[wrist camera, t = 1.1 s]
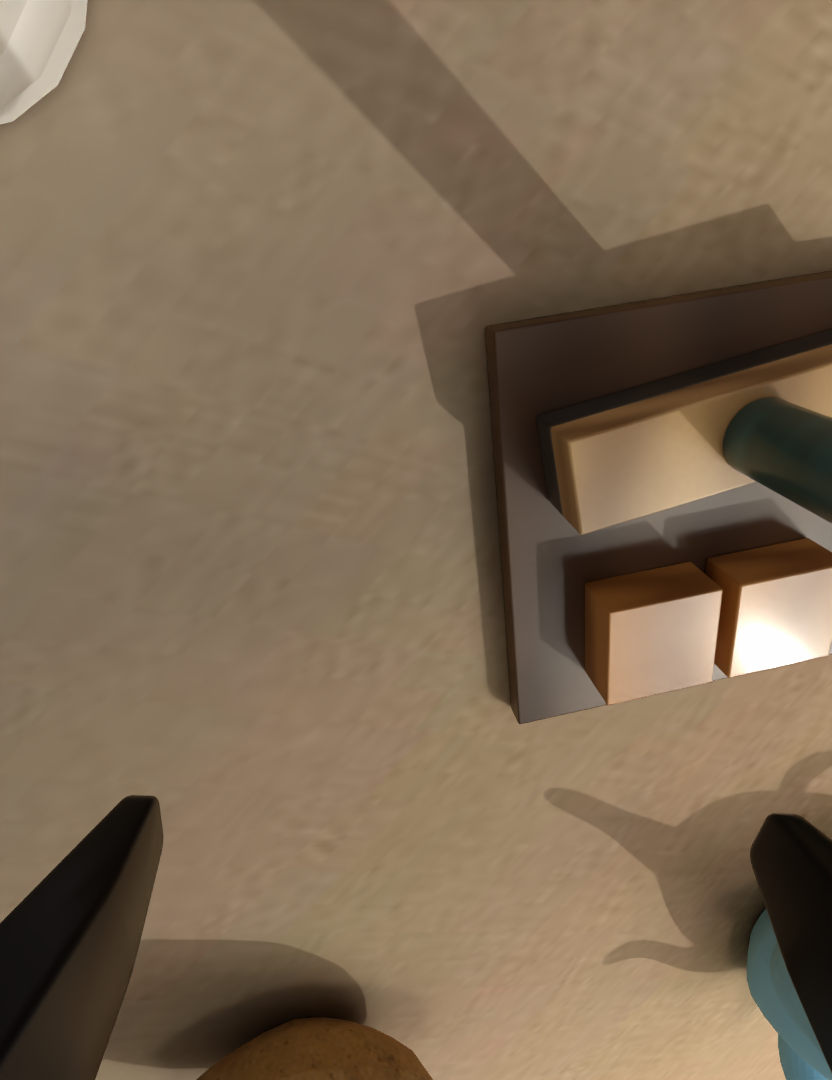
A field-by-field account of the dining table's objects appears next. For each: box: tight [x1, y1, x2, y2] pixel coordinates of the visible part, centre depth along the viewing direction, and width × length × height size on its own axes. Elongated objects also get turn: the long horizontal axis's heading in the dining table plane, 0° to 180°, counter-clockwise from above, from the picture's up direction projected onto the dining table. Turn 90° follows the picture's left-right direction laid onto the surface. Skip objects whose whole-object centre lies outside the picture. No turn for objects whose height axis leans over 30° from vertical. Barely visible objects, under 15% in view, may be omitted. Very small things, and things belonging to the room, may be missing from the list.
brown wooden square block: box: [585, 562, 723, 705], centre depth 23 cm, size 4×4×2 cm
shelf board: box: [485, 271, 832, 724], centre depth 23 cm, size 14×15×1 cm
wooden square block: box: [705, 538, 832, 678], centre depth 23 cm, size 4×4×2 cm
